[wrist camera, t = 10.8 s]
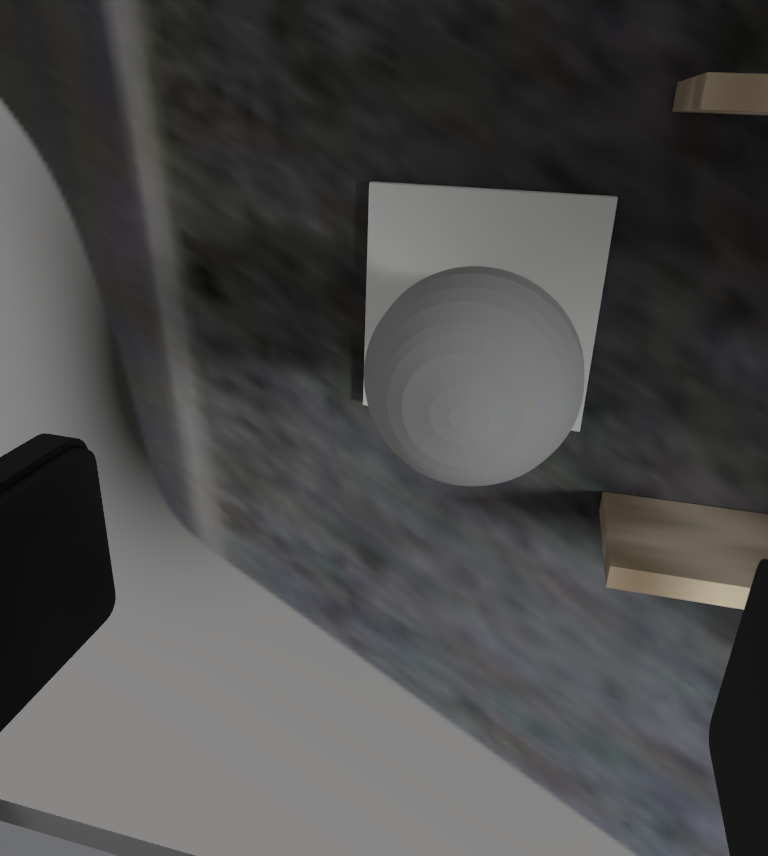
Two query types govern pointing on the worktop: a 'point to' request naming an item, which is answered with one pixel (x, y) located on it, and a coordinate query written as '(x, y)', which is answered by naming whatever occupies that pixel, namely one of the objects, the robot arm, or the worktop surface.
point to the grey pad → (490, 246)
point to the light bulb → (474, 376)
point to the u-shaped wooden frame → (675, 521)
